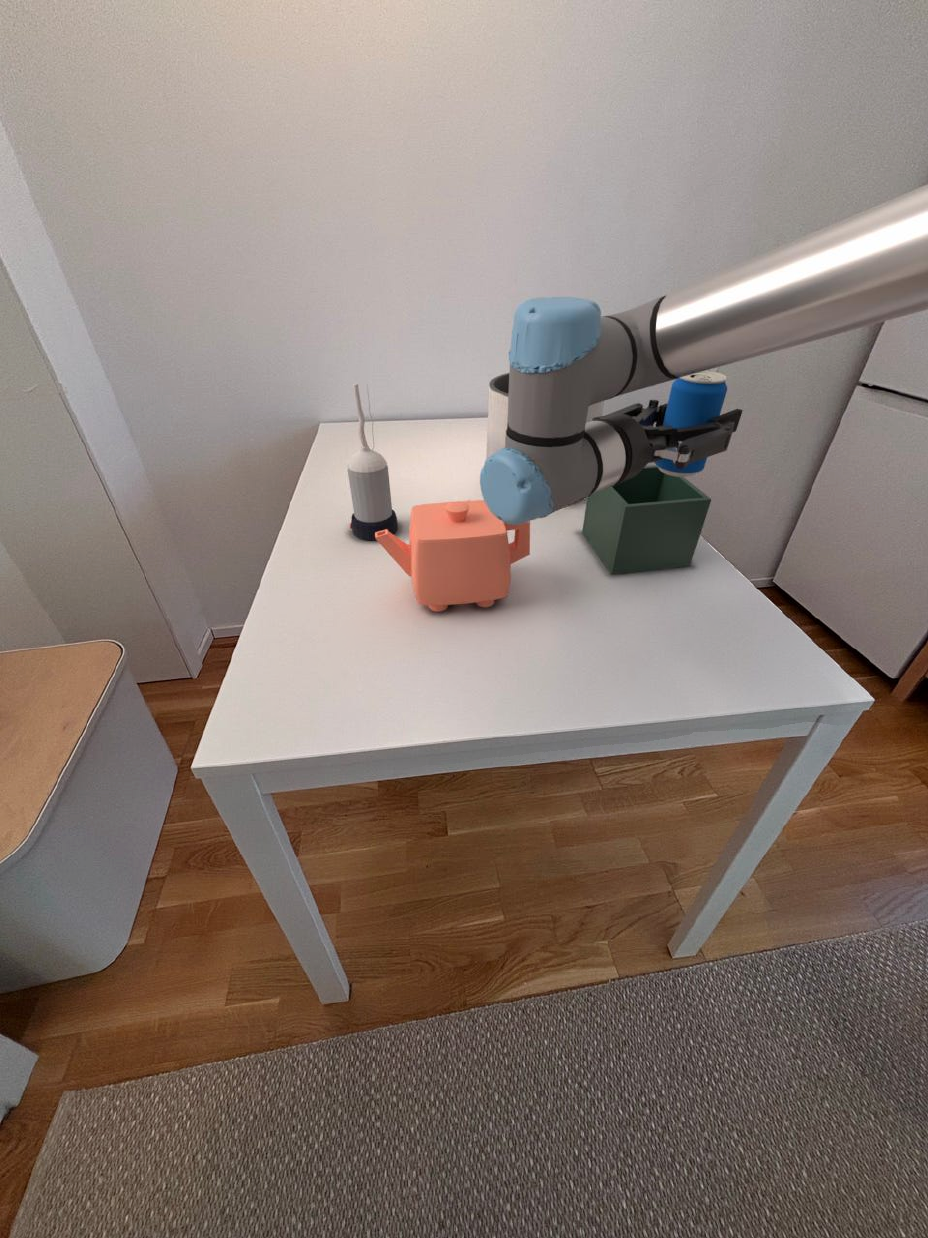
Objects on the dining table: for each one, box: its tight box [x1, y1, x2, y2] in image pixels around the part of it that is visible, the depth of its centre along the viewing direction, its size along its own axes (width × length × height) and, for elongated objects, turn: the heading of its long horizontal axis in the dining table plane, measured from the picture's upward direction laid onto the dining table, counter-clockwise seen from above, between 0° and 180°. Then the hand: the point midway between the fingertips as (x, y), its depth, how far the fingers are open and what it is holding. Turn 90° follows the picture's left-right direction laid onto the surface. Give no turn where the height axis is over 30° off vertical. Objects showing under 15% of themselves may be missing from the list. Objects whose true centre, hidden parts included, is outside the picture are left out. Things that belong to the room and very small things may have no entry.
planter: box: [485, 372, 605, 460], centre depth 103 cm, size 22×22×20 cm
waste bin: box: [581, 464, 712, 575], centre depth 85 cm, size 14×14×12 cm
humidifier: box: [347, 383, 399, 542], centre depth 86 cm, size 8×8×25 cm
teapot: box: [375, 499, 531, 612], centre depth 75 cm, size 22×13×14 cm, turn 98°
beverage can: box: [653, 370, 728, 478], centre depth 67 cm, size 6×6×12 cm
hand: (711, 413), depth 69 cm, fingers closed on beverage can, 6 cm apart
